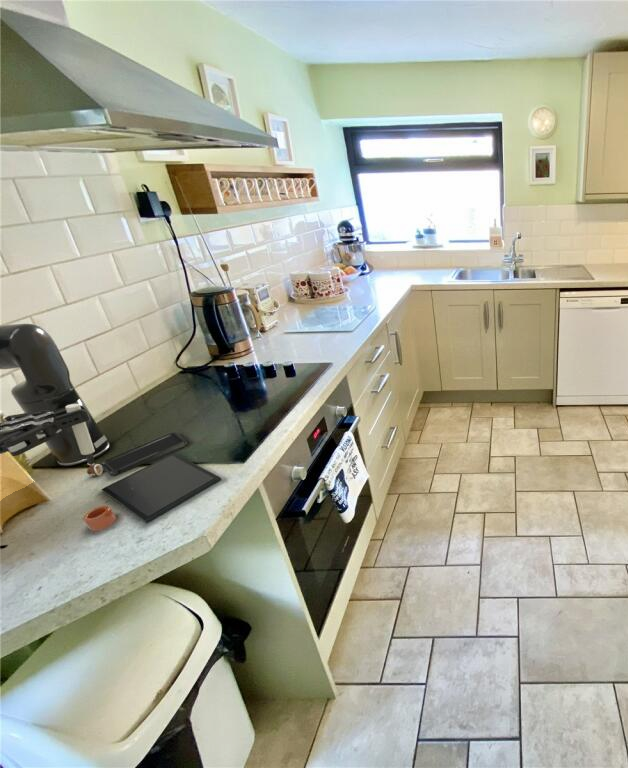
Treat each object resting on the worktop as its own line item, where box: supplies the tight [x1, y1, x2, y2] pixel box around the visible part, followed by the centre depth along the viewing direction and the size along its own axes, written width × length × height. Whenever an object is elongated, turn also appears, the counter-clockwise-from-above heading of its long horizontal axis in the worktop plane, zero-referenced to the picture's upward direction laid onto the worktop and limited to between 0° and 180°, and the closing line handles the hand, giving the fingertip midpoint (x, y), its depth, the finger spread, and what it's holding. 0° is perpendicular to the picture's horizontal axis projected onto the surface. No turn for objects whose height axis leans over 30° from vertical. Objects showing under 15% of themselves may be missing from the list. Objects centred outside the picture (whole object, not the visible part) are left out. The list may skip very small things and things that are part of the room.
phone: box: [101, 431, 188, 477], centre depth 100 cm, size 8×1×15 cm
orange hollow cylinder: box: [82, 505, 117, 532], centre depth 80 cm, size 4×4×3 cm
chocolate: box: [86, 462, 104, 477], centre depth 94 cm, size 3×2×4 cm
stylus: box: [65, 404, 96, 466], centre depth 76 cm, size 2×2×12 cm
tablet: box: [101, 452, 222, 524], centre depth 90 cm, size 20×14×1 cm
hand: (85, 412), depth 75 cm, fingers closed on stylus, 2 cm apart
